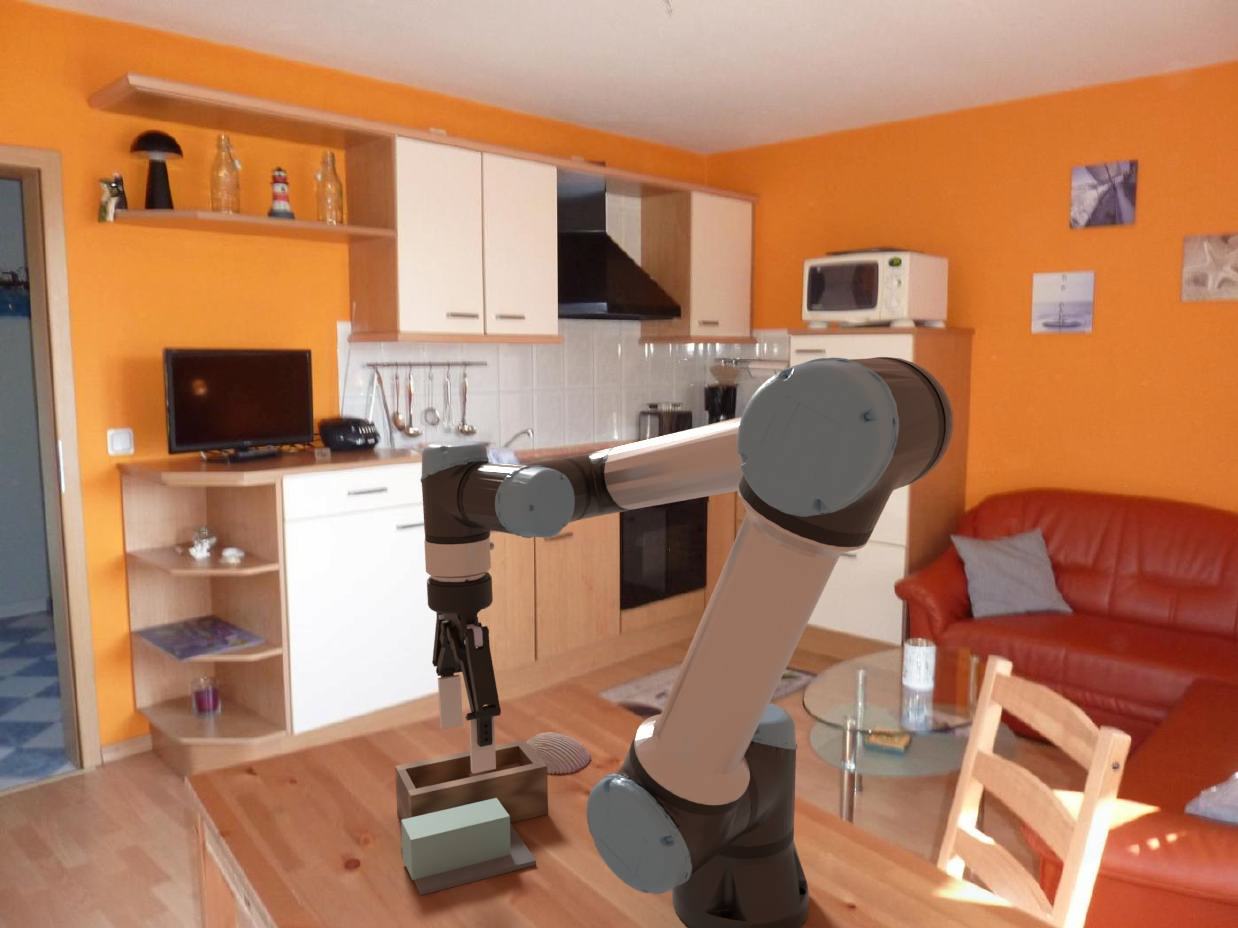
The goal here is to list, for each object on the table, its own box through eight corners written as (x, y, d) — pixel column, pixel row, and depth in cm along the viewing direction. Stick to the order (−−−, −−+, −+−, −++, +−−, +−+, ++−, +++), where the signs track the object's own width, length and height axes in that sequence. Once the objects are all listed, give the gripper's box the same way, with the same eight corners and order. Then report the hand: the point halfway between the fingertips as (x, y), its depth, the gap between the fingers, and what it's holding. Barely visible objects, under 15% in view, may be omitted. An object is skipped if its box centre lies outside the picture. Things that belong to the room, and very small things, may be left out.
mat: (536, 864, 111) (535, 860, 111) (420, 895, 105) (420, 890, 105) (509, 825, 120) (509, 821, 120) (401, 851, 114) (401, 847, 114)
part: (497, 834, 117) (496, 797, 116) (510, 854, 112) (509, 815, 111) (402, 858, 111) (401, 819, 111) (412, 879, 107) (410, 839, 106)
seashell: (520, 727, 144) (583, 712, 144) (528, 759, 144) (591, 745, 144) (516, 755, 133) (583, 739, 134) (524, 790, 134) (591, 774, 134)
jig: (525, 784, 131) (524, 739, 130) (548, 814, 123) (547, 765, 122) (397, 813, 123) (395, 765, 122) (412, 846, 115) (410, 795, 114)
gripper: (525, 594, 98) (532, 783, 101) (461, 550, 120) (467, 705, 123) (456, 603, 95) (465, 798, 97) (403, 556, 117) (411, 716, 120)
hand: (466, 747), depth 110 cm, fingers open, 13 cm apart
